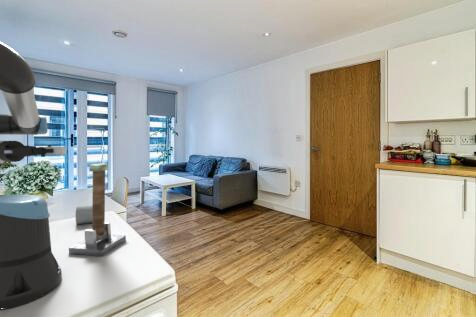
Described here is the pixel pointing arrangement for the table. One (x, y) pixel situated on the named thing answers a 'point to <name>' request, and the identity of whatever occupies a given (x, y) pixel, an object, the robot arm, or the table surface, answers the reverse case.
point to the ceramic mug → (83, 214)
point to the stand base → (97, 243)
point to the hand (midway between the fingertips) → (63, 150)
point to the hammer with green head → (98, 200)
